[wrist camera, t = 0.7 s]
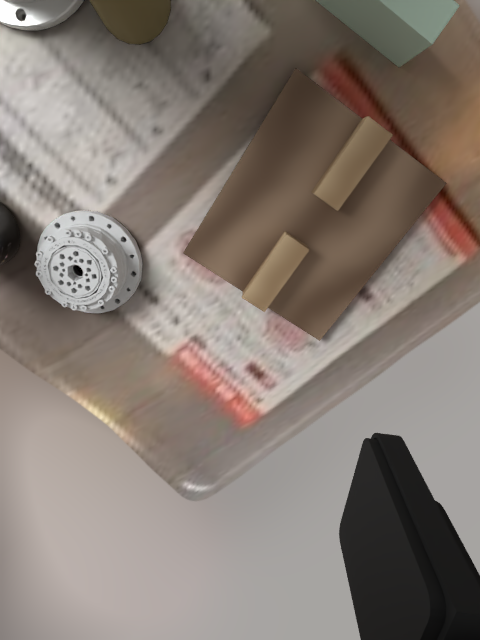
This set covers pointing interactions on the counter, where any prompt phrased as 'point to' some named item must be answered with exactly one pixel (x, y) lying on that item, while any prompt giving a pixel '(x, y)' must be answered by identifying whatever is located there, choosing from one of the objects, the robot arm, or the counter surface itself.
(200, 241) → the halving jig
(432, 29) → the sage plate
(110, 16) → the cork
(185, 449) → the counter surface
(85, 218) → the mechanical component
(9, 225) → the supplement bottle
